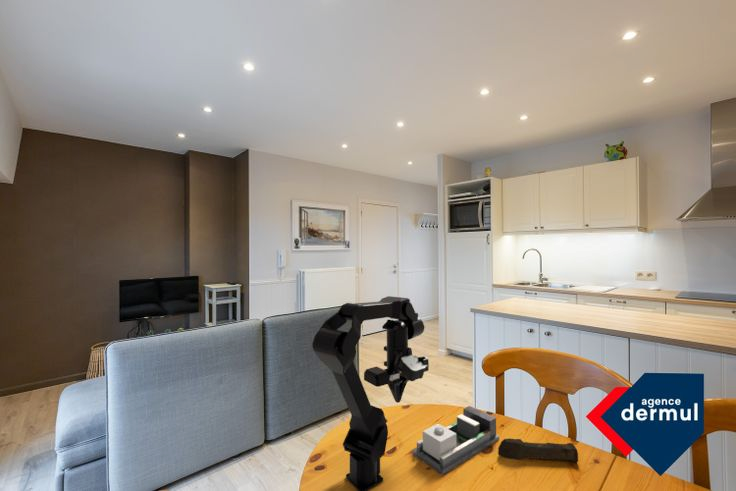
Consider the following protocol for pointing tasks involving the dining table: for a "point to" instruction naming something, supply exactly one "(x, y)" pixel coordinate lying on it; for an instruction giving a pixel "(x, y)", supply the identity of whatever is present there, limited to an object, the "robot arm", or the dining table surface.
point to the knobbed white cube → (438, 440)
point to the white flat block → (467, 426)
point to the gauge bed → (462, 443)
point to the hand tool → (537, 450)
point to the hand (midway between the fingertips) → (397, 401)
